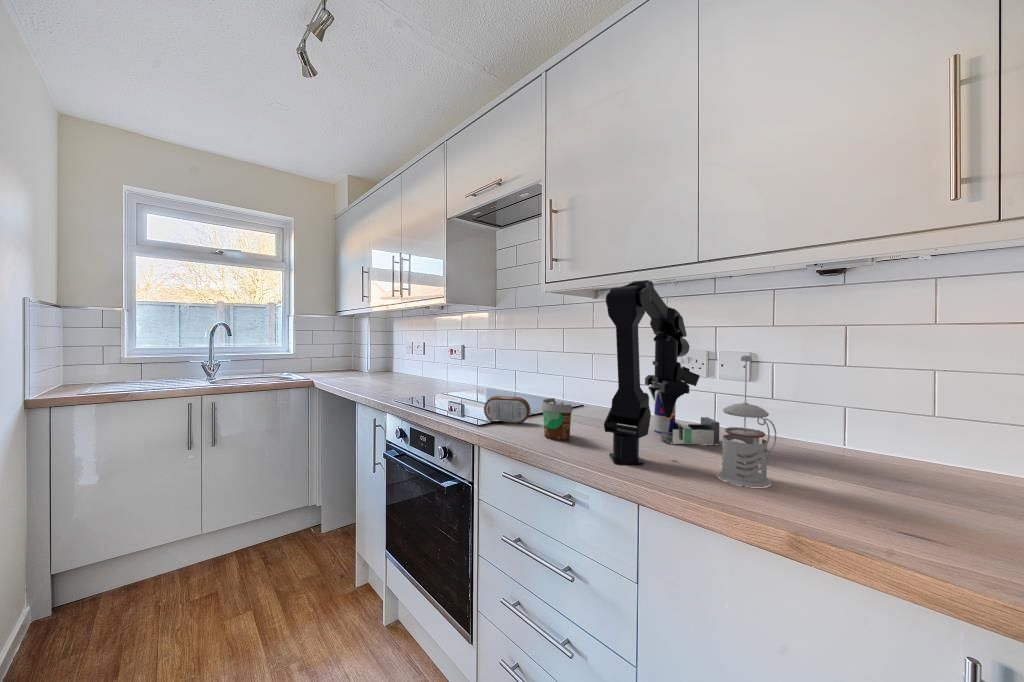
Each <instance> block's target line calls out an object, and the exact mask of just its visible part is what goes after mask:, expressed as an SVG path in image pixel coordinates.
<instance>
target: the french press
mask: <svg viewBox="0 0 1024 682" xmlns="http://www.w3.org/2000/svg"><path fill="white" fill-rule="evenodd" d="M752 361H753V359H752V357H751V356H750V355H742V356H741V357H740V362H745V371H744V372H745V375H744V378H745V379H744V382H745V383H744V402H742V403H734V404H731V405H728V406H726V407H724V408H722V411H723V413H724V414H727V415H730V416H734V417H741V418H744V420H743V421H744V422H743V423H744V424H743V425H744V427H737V426H729V427H725V428H724V432H725V433H726V434H724V435H722V443H721V444H722V446H721V447H722V451H721V452H722V457H721V460H722V462H721V465H722V468H721V470H720V471H719V472H718V473H716V474H717V475H718V477H720V478H721V479H723V480H726V481H728V482H730V483H733V484H737V485H741V486H748V487H765V486H768V485H770V484H771V483H772V481H771V480H770V479H769V478H768V477H767V475H768V474H767V469H768V466H767V465H768V454H770V453H771V452H772V450H773V449H774V447H775V445H776V442H777V430H776V426H775V424H774V423H773V421H772V420H771V419H768V418H767V417H769V415H770V413H769V412H768V411H766V410H765V409H764V408H762V407H760V406H757V405H754V404H751V403H748V402H747V377H748V376H747V373H748V371H747V370H748V369H747V368H748V363H747V362H752ZM746 418H751V419H756V418H757V424H758V425H759V426H764V425H766V428H767V440H766V439H763V438H764V437H765V436H766V433H765V432H764V431H762V430H760V429H753V428H749V427H746V421H747V420H746ZM760 419H761V420H763V423H760ZM767 421H768V422H769V423H770V424H771V425H772V428H773V431H774V441H773V444H772V446H771V448H770V449H769V450H768V445H769V444H768V443H769V441H770V436H771V435H770V427H769V425H768V422H767ZM760 438H761V444H760ZM733 440H739V442H738V441H733ZM740 441H741V442H740ZM743 442H744V443H743ZM760 458H761V459H760ZM759 459H760V460H759ZM759 465H761V466H759ZM760 471H761V472H760ZM717 475H716V476H717ZM769 480H770V481H771V482H770V481H769Z"/></svg>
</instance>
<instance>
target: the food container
mask: <svg viewBox="0 0 1024 682" xmlns="http://www.w3.org/2000/svg"><path fill="white" fill-rule="evenodd" d="M540 410H542V415H543V430H544V432H543V435H544V438H545V437H546V438H545V439H547V440H549V439H550V441H554V440H555V442H556V441H557V442H570V438H571V419H572V413H573V407H572V404H565V403H562V402H557V401H556V397H554V398H553V397H550V398H545V399H543V400H542V402H541V405H540Z"/></svg>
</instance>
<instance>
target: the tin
mask: <svg viewBox="0 0 1024 682" xmlns="http://www.w3.org/2000/svg"><path fill="white" fill-rule="evenodd" d="M483 412H484V415H485V417H486V419H487V420H489V421H490V420H499V421H503V422H507V423H506V424H514V423H519V424H523V423H524V422H525V421H526V420H527V419H528V418H529V417H530V414H531V407H530V404H529V402H528V401H527V400H526V399H525V398H522V397H520V396H505V395H493V396H490V397H489V398H488V400H486V402H485V403H484V407H483Z"/></svg>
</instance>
